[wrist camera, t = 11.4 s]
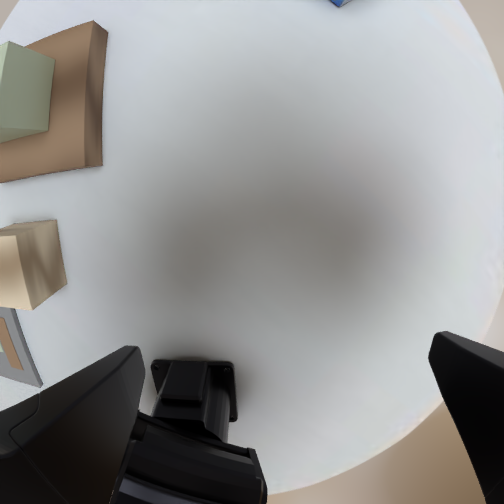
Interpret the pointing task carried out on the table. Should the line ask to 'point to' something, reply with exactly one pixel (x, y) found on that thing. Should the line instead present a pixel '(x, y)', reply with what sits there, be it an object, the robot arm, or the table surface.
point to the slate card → (15, 351)
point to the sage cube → (24, 91)
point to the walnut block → (65, 108)
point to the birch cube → (30, 264)
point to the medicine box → (340, 2)
